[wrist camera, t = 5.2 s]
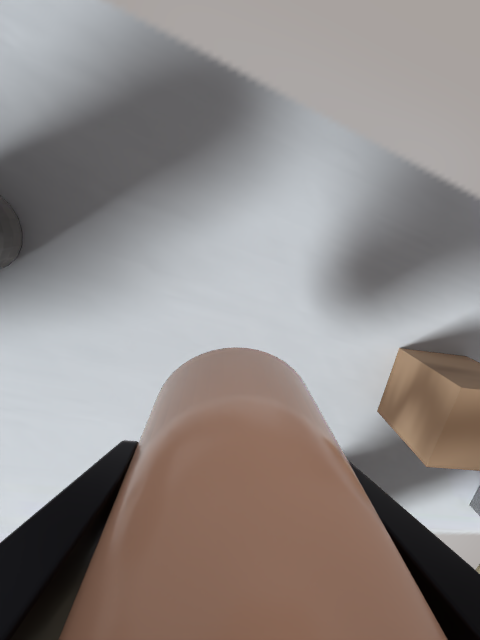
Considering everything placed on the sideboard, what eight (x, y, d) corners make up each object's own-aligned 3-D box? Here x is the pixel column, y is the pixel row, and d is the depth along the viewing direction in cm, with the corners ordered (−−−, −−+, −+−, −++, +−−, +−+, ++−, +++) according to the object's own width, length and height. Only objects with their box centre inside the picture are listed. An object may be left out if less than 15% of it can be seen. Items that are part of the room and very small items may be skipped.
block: (438, 416, 20) (506, 472, 15) (376, 410, 20) (426, 466, 15) (465, 355, 19) (548, 397, 14) (398, 347, 18) (461, 387, 13)
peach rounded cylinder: (295, 486, 10) (447, 1014, 3) (149, 478, 9) (-35, 1089, 3) (328, 357, 8) (751, 836, 2) (158, 338, 8) (-217, 933, 1)
